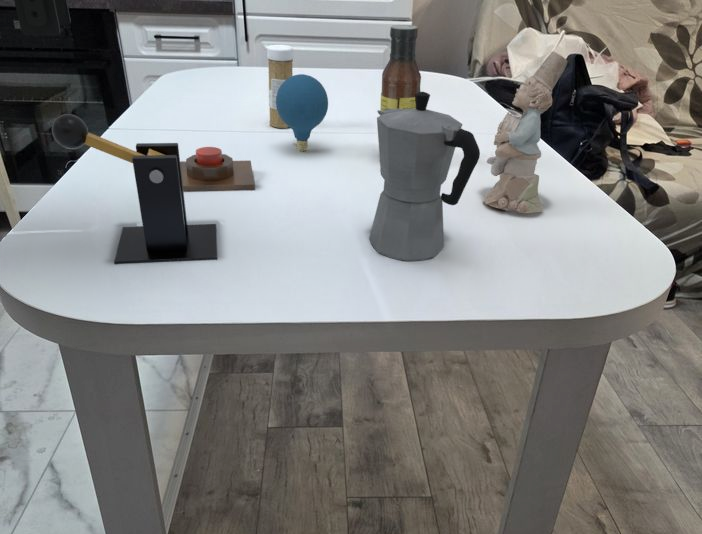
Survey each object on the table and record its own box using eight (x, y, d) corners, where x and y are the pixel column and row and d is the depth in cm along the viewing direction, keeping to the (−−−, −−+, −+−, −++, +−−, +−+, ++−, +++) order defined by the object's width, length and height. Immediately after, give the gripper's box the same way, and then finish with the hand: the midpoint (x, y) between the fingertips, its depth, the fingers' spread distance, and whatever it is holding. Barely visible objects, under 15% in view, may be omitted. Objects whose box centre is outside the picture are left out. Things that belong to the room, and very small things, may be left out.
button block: (167, 198, 85) (163, 173, 83) (170, 172, 93) (167, 149, 91) (255, 196, 87) (254, 171, 85) (251, 171, 95) (250, 148, 93)
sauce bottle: (418, 156, 105) (432, 25, 93) (412, 168, 100) (427, 31, 88) (380, 151, 106) (389, 21, 94) (372, 163, 101) (381, 27, 89)
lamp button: (196, 167, 87) (195, 155, 86) (196, 159, 90) (195, 146, 89) (222, 167, 87) (221, 154, 86) (222, 158, 90) (221, 146, 89)
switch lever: (45, 145, 62) (53, 113, 61) (51, 135, 65) (59, 104, 63) (165, 191, 67) (175, 163, 65) (166, 180, 70) (176, 152, 68)
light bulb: (291, 162, 99) (290, 83, 92) (268, 147, 105) (266, 71, 98) (336, 155, 103) (338, 78, 96) (311, 141, 109) (312, 67, 102)
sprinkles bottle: (273, 120, 118) (271, 43, 110) (296, 123, 117) (296, 45, 109) (265, 127, 114) (263, 47, 106) (289, 130, 114) (289, 49, 106)
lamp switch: (115, 271, 68) (95, 165, 61) (124, 235, 75) (106, 137, 69) (217, 266, 70) (208, 163, 63) (216, 232, 77) (208, 136, 71)
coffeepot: (343, 234, 79) (349, 83, 68) (398, 217, 84) (412, 74, 73) (429, 284, 69) (452, 118, 59) (485, 262, 74) (515, 105, 64)
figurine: (541, 198, 92) (575, 50, 80) (543, 220, 85) (581, 63, 74) (480, 191, 93) (506, 44, 82) (478, 212, 86) (505, 56, 75)
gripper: (-29, -224, 53) (25, 15, 64) (-108, -265, 40) (-22, 46, 51) (63, -216, 55) (102, 17, 65) (17, -253, 41) (75, 48, 52)
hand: (47, 27), depth 58 cm, fingers open, 4 cm apart
